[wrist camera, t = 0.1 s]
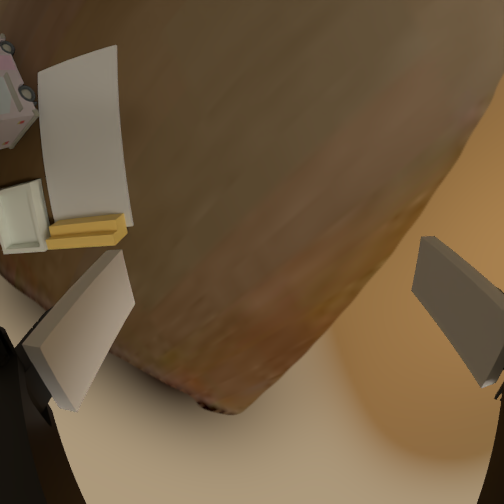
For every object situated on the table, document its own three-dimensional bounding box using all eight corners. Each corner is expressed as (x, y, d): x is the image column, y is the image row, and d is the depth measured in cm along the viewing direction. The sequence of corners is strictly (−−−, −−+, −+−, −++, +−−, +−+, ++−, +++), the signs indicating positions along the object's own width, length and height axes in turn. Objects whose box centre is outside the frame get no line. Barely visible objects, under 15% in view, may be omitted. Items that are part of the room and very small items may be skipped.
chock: (58, 220, 40) (43, 230, 36) (123, 213, 40) (110, 223, 36) (63, 238, 42) (48, 249, 38) (127, 233, 41) (115, 245, 37)
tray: (-1, 189, 38) (-12, 193, 36) (40, 178, 38) (29, 182, 35) (13, 247, 43) (3, 254, 40) (54, 244, 43) (45, 251, 40)
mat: (39, 72, 31) (37, 72, 31) (117, 45, 31) (115, 44, 31) (58, 231, 42) (57, 232, 41) (133, 225, 41) (132, 226, 41)
